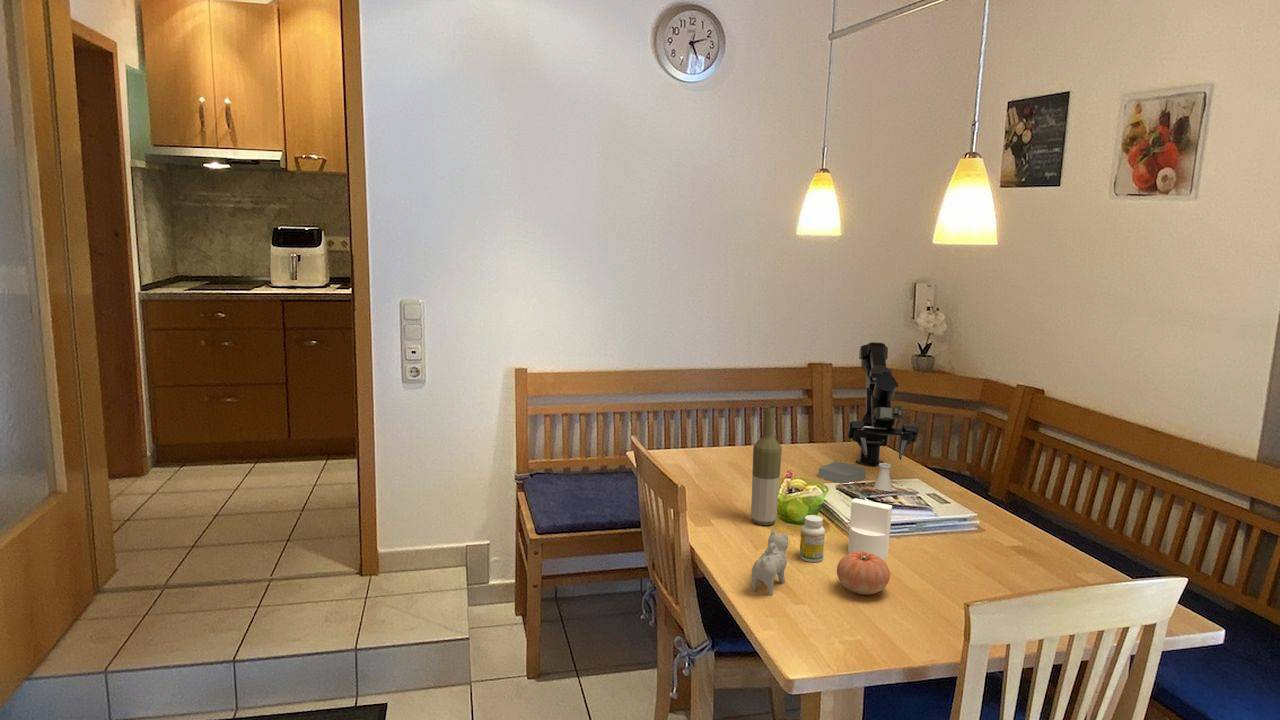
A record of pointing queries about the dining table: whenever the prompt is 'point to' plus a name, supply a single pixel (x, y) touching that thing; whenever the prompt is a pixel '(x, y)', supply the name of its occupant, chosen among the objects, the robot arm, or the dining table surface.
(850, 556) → the pumpkin
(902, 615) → the dining table surface
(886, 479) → the flask
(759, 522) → the bottle
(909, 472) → the dining table surface
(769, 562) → the dog figurine
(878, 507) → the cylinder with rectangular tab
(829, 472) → the dock
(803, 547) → the supplement bottle
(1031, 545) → the dining table surface
